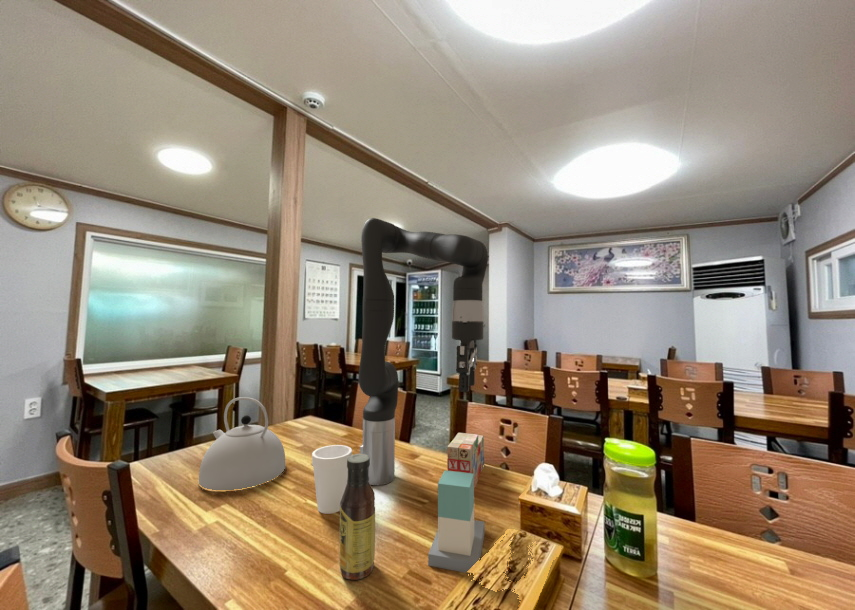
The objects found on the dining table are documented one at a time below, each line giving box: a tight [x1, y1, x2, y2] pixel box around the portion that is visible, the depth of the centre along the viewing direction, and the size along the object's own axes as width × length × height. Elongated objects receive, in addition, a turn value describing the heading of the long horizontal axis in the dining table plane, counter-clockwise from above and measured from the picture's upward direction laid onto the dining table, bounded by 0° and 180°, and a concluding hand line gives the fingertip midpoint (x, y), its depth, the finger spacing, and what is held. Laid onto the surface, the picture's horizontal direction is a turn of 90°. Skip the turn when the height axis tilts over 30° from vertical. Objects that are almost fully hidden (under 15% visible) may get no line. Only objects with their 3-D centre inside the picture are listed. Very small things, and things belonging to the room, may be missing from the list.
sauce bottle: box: [338, 453, 376, 581], centre depth 60 cm, size 6×6×20 cm
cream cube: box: [437, 506, 475, 556], centre depth 65 cm, size 6×6×6 cm
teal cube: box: [437, 470, 475, 521], centre depth 65 cm, size 6×6×6 cm
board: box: [427, 519, 486, 574], centre depth 66 cm, size 9×13×2 cm
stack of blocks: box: [446, 432, 485, 489], centre depth 97 cm, size 21×6×12 cm, turn 161°
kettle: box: [198, 396, 286, 490], centre depth 101 cm, size 25×23×22 cm
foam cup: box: [311, 444, 353, 515], centre depth 82 cm, size 10×9×13 cm
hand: (467, 388), depth 79 cm, fingers open, 8 cm apart
